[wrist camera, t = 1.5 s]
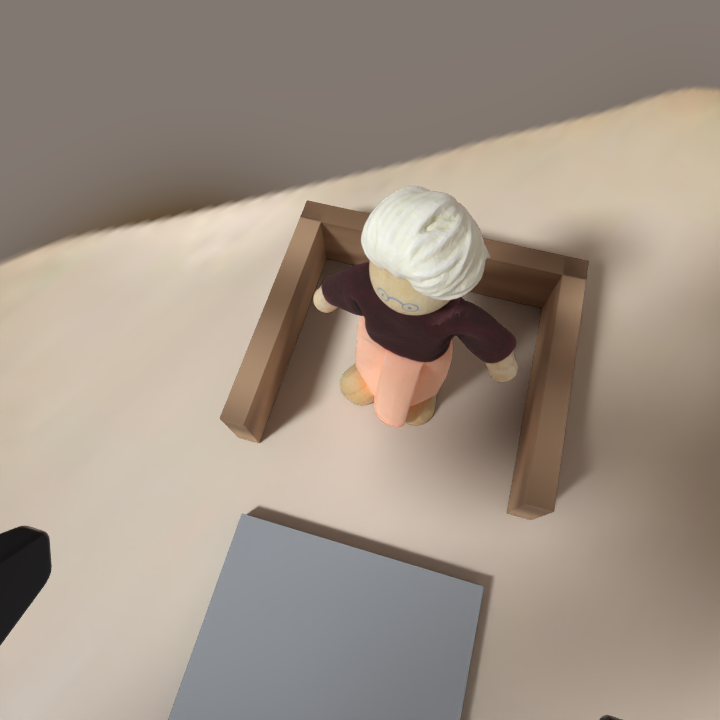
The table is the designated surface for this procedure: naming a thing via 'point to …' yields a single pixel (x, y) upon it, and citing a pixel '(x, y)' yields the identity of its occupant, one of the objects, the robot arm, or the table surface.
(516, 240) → the table surface
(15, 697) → the table surface
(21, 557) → the robot arm
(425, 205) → the grandmother figurine
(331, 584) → the slate mat
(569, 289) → the walnut stall
